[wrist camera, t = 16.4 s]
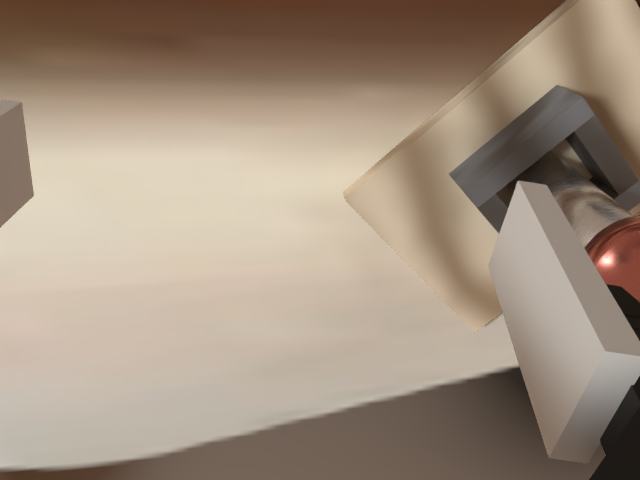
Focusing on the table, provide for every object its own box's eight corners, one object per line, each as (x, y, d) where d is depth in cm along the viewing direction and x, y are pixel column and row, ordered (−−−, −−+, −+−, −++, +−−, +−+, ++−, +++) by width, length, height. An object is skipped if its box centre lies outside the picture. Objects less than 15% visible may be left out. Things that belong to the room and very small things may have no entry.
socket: (604, -33, 37) (651, -29, 33) (707, 145, 44) (758, 168, 39) (342, 192, 43) (352, 221, 38) (468, 322, 49) (489, 360, 44)
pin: (550, 121, 40) (674, 206, 28) (587, 179, 42) (718, 282, 30) (480, 171, 41) (569, 275, 29) (520, 226, 44) (618, 343, 31)
